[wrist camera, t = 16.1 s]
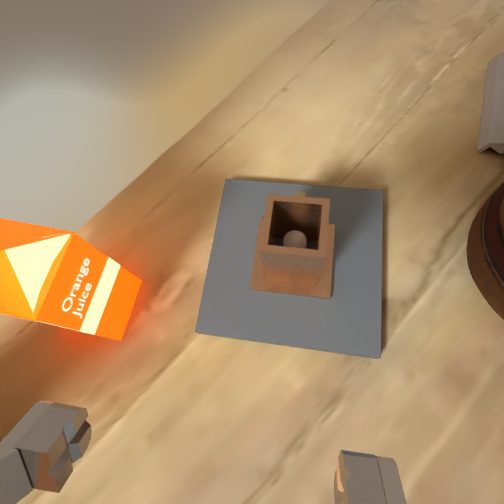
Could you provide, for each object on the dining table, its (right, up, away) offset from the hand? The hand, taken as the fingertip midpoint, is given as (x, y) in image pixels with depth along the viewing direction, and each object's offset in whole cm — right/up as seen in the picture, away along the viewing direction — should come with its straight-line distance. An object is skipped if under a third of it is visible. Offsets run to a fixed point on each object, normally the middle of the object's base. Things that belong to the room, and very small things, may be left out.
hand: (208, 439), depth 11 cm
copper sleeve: (+6, +5, +29) cm, 30 cm away
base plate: (+6, +5, +30) cm, 31 cm away
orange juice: (-17, 0, +31) cm, 36 cm away
